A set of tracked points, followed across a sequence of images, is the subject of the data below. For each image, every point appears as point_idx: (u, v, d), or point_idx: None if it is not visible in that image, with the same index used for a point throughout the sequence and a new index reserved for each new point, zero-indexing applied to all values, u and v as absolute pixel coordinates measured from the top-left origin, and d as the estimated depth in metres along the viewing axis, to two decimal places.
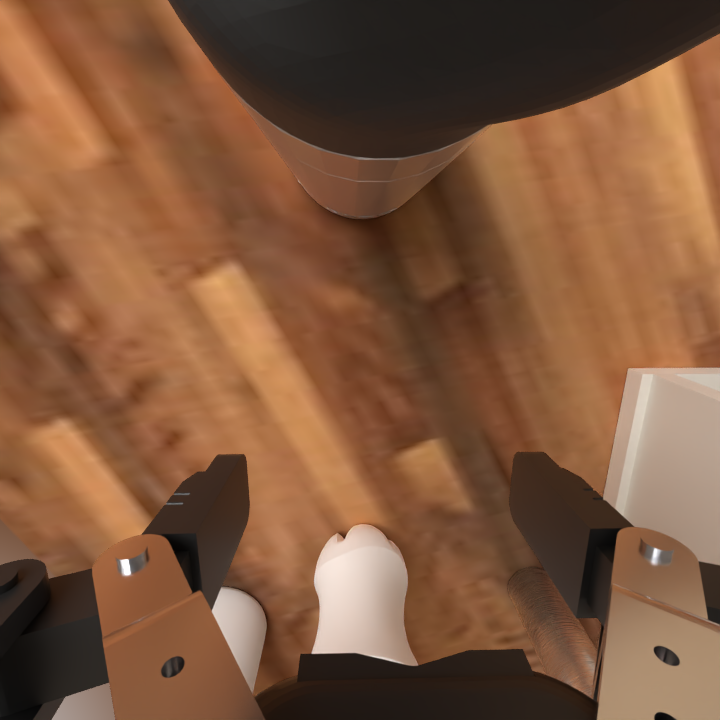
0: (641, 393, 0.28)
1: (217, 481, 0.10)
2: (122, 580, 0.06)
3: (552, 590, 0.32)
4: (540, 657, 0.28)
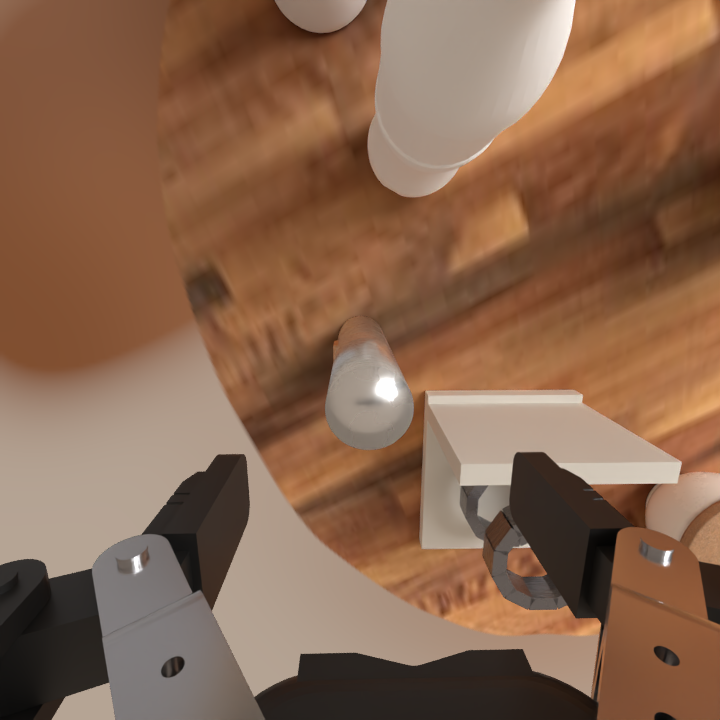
0: (566, 397, 0.35)
1: (217, 481, 0.10)
2: (122, 580, 0.06)
3: None
4: (360, 326, 0.29)
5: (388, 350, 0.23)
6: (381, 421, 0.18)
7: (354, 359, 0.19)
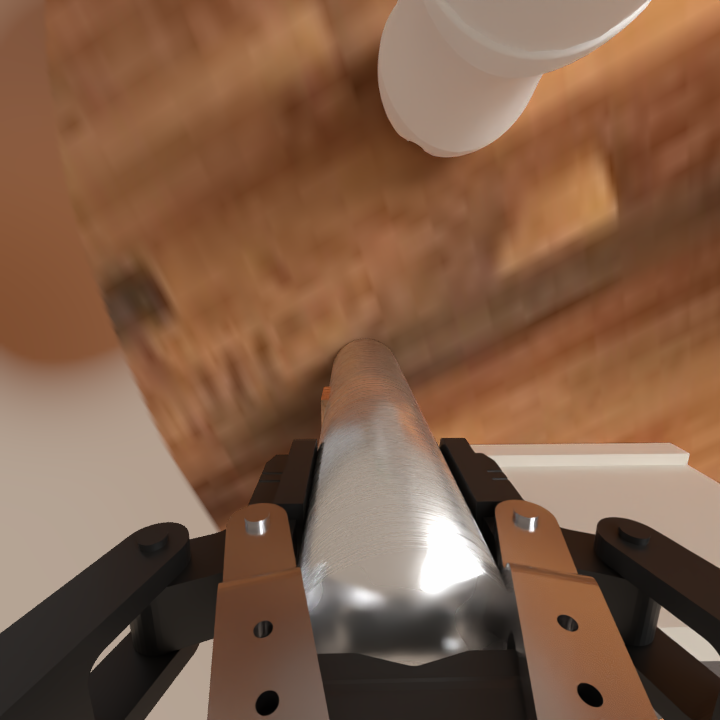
0: (665, 457, 0.24)
1: (303, 461, 0.10)
2: (258, 539, 0.07)
3: None
4: (367, 363, 0.17)
5: (425, 430, 0.12)
6: None
7: (361, 492, 0.08)
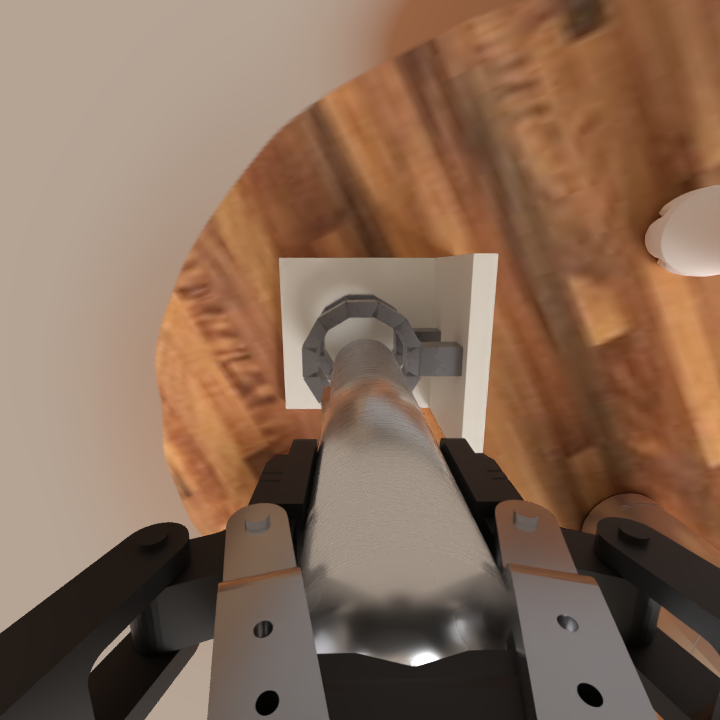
0: None
1: (303, 461, 0.10)
2: (258, 539, 0.07)
3: None
4: (367, 363, 0.17)
5: (425, 430, 0.12)
6: None
7: (361, 492, 0.08)
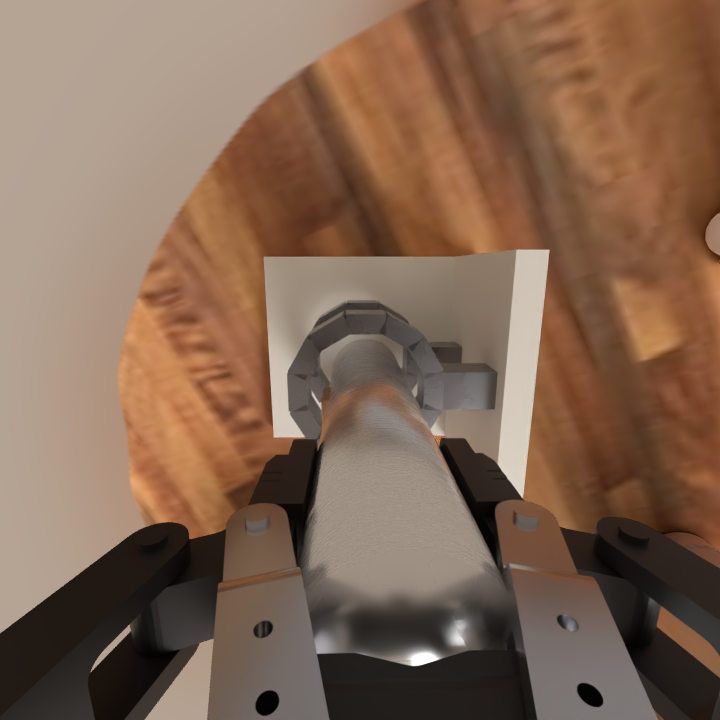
0: None
1: (303, 461, 0.10)
2: (258, 539, 0.07)
3: None
4: (367, 363, 0.17)
5: (425, 430, 0.12)
6: None
7: (361, 492, 0.08)
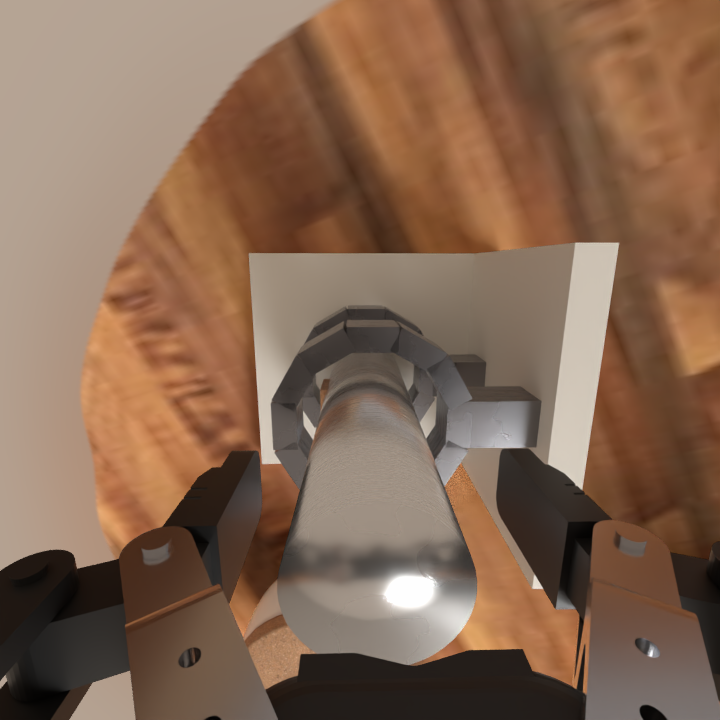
0: None
1: (233, 476, 0.10)
2: (149, 570, 0.07)
3: None
4: (363, 357, 0.19)
5: (410, 415, 0.13)
6: (404, 615, 0.08)
7: (346, 461, 0.09)
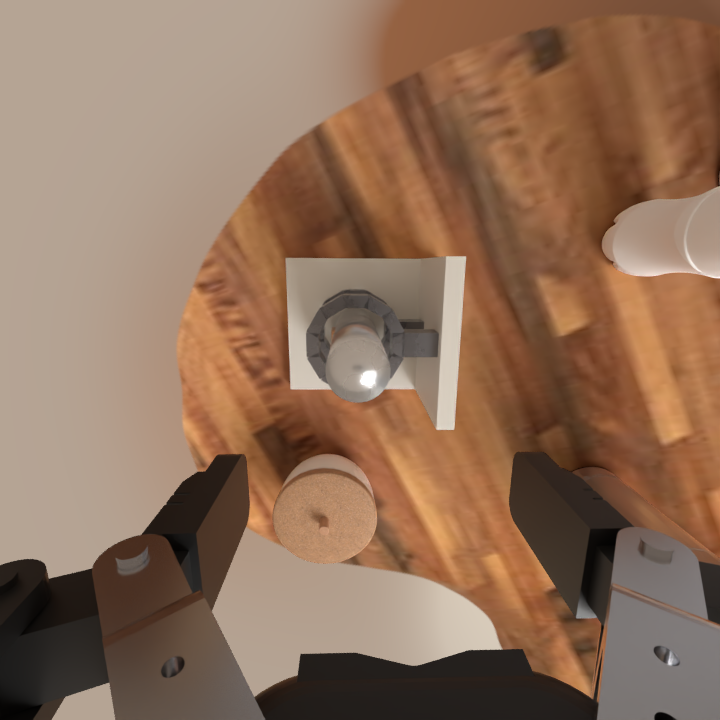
0: None
1: (217, 481, 0.10)
2: (123, 580, 0.06)
3: None
4: (354, 315, 0.35)
5: (374, 332, 0.29)
6: (367, 380, 0.24)
7: (347, 336, 0.25)
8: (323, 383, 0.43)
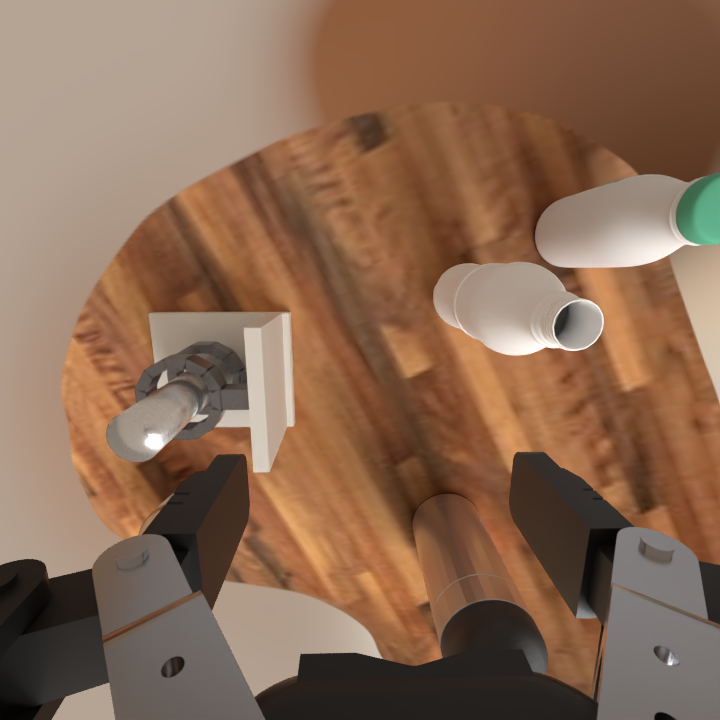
0: (291, 415, 0.48)
1: (217, 481, 0.10)
2: (122, 580, 0.06)
3: None
4: None
5: (182, 393, 0.34)
6: (142, 444, 0.29)
7: (134, 405, 0.30)
8: None
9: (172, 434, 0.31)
